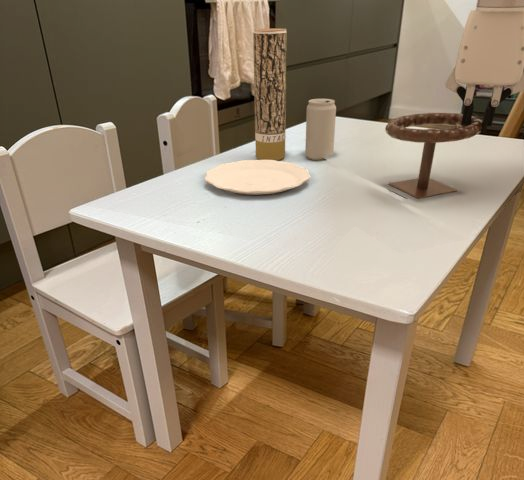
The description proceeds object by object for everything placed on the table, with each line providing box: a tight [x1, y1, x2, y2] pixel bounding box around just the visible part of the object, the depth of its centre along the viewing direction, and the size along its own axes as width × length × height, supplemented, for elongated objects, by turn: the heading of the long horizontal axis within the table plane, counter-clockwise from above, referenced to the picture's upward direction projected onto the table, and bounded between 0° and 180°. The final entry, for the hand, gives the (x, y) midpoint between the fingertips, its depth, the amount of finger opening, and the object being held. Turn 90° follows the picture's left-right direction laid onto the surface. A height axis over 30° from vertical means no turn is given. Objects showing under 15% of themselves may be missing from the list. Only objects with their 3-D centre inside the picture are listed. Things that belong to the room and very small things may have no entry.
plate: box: [204, 159, 311, 196], centre depth 100 cm, size 21×21×2 cm
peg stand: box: [387, 143, 459, 200], centre depth 91 cm, size 9×9×11 cm
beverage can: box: [304, 98, 337, 162], centre depth 111 cm, size 6×6×12 cm
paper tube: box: [252, 28, 288, 161], centre depth 108 cm, size 7×7×25 cm
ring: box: [384, 112, 483, 144], centre depth 87 cm, size 16×16×2 cm
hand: (474, 129), depth 86 cm, fingers closed on ring, 2 cm apart
